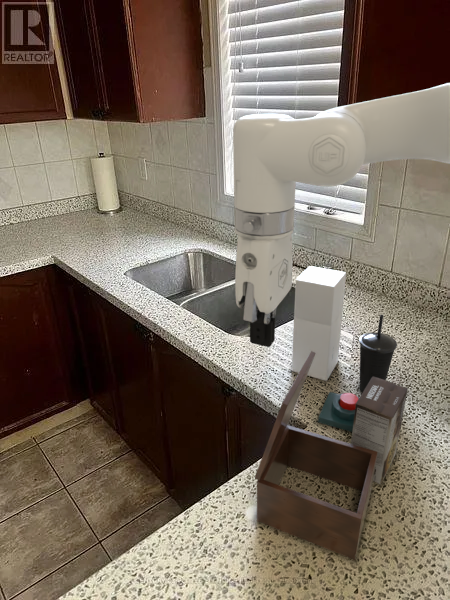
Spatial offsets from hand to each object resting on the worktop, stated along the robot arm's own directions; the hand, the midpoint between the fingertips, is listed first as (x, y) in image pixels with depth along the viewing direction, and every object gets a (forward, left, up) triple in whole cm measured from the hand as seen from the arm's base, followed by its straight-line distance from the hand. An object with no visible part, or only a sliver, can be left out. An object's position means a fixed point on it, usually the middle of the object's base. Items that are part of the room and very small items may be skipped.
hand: (262, 342), depth 65 cm
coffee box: (-17, -14, -31) cm, 37 cm away
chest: (-10, 0, -30) cm, 32 cm away
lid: (-4, 0, -12) cm, 13 cm away
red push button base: (-10, -24, -30) cm, 40 cm away
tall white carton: (+1, -39, -31) cm, 49 cm away
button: (-10, -24, -27) cm, 37 cm away
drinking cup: (-13, -35, -31) cm, 48 cm away
